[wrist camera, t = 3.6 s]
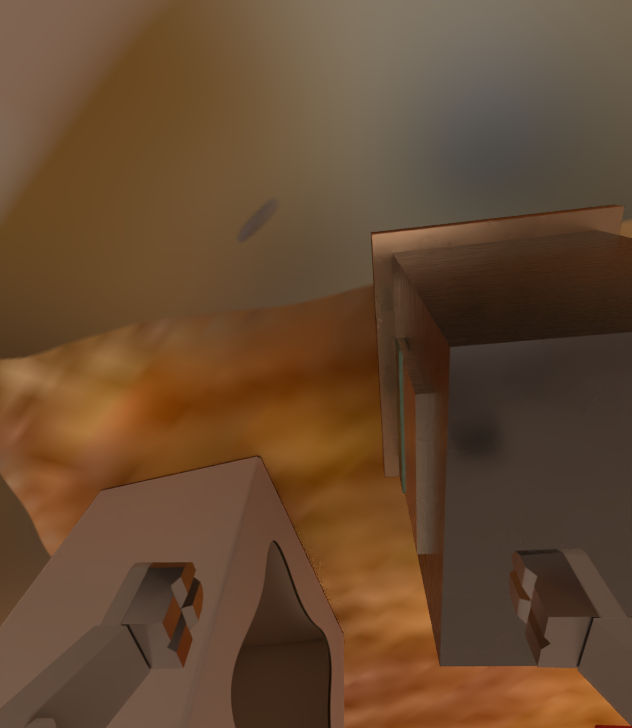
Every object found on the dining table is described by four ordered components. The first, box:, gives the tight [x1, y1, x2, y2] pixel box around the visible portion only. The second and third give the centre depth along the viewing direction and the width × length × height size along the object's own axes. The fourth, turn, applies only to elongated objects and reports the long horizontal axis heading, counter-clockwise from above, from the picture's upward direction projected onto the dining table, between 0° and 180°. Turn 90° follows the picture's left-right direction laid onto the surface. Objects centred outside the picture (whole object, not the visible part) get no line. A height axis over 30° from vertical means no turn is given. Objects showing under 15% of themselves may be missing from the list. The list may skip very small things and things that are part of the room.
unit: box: [371, 205, 632, 666], centre depth 18 cm, size 12×16×13 cm
